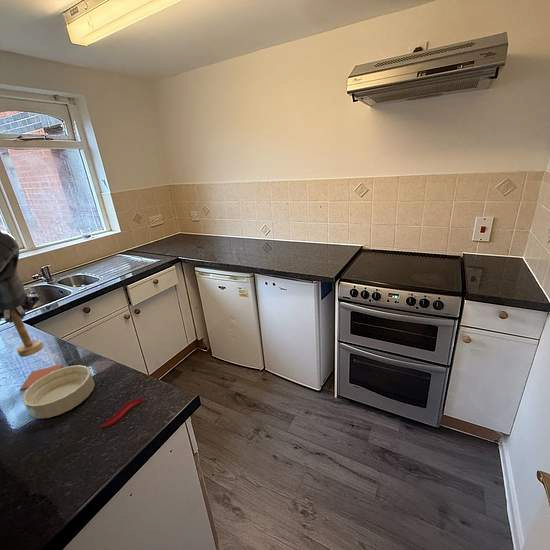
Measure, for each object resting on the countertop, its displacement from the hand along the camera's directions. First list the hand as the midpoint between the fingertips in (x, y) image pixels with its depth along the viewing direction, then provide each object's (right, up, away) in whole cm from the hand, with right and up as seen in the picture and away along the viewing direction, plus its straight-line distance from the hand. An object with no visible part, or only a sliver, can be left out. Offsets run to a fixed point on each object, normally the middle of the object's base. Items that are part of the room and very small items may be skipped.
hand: (15, 318), depth 90 cm
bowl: (+17, -23, -3) cm, 28 cm away
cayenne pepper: (+38, -24, -11) cm, 46 cm away
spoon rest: (+3, -20, +7) cm, 22 cm away
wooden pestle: (+3, -10, +3) cm, 11 cm away
